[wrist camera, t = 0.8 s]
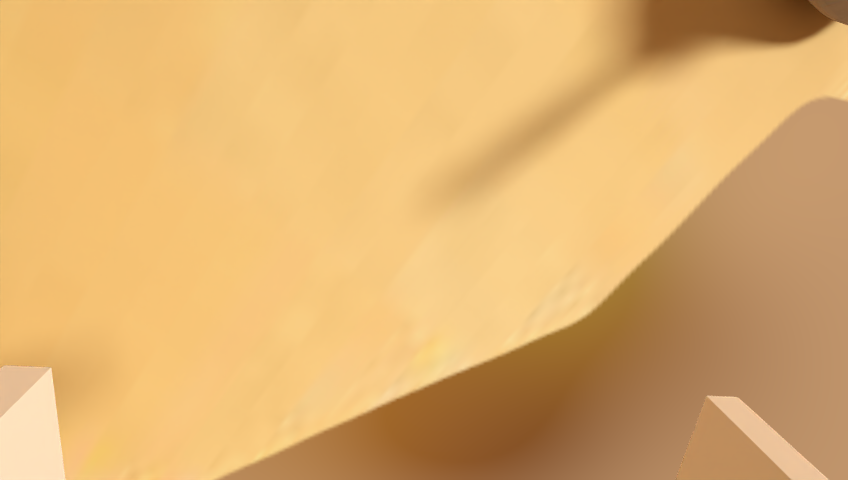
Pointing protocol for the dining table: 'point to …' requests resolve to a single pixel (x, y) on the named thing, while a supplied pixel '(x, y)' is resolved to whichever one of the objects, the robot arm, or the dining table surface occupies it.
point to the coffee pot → (833, 9)
